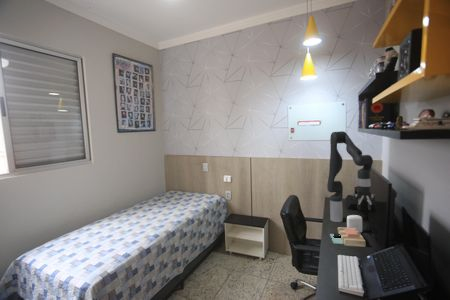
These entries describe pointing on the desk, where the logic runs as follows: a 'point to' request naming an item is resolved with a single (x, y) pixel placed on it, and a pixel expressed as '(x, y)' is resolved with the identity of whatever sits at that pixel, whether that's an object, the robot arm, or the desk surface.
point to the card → (350, 232)
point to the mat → (336, 240)
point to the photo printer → (354, 222)
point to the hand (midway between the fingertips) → (364, 209)
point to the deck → (351, 238)
